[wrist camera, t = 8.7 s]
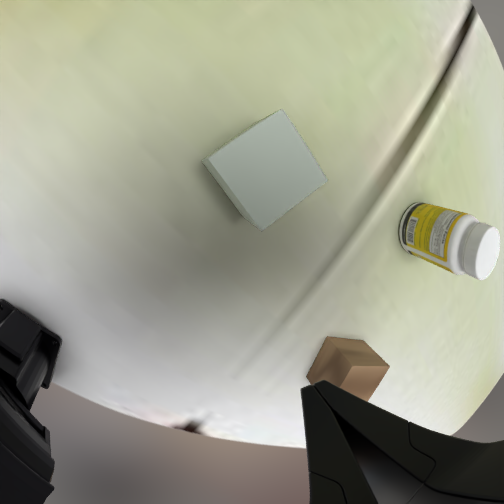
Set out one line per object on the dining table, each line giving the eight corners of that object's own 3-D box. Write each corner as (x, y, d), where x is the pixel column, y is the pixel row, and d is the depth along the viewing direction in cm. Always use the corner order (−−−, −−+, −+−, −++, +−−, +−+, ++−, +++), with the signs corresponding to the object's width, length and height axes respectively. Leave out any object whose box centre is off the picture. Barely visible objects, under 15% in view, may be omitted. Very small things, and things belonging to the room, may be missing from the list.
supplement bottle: (436, 231, 23) (504, 256, 16) (408, 263, 23) (476, 299, 16) (421, 190, 22) (498, 208, 14) (390, 223, 22) (469, 252, 14)
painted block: (242, 216, 19) (261, 231, 14) (201, 160, 17) (207, 158, 13) (296, 176, 19) (328, 180, 15) (258, 121, 17) (282, 108, 13)
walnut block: (342, 377, 26) (364, 405, 22) (305, 375, 24) (326, 408, 20) (363, 340, 25) (389, 366, 21) (326, 335, 23) (352, 365, 19)
